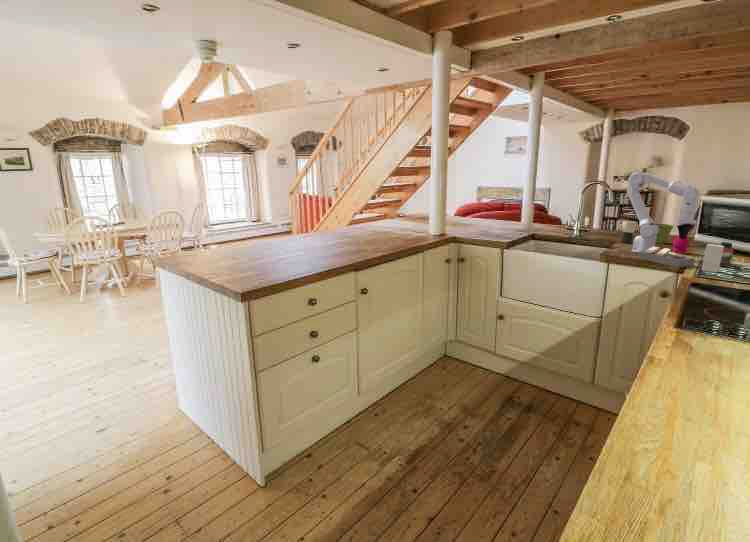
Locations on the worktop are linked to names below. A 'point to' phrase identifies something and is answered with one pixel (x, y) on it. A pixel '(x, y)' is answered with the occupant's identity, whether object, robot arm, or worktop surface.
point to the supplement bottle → (726, 254)
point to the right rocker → (675, 254)
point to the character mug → (628, 230)
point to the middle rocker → (663, 252)
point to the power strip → (667, 259)
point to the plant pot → (663, 232)
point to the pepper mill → (681, 244)
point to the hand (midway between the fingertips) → (682, 238)
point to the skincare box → (712, 258)
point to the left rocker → (652, 249)
